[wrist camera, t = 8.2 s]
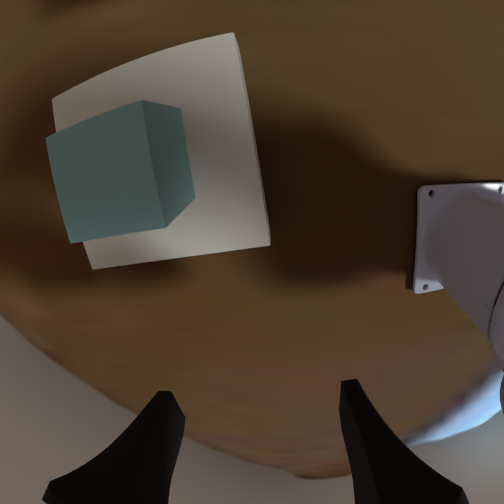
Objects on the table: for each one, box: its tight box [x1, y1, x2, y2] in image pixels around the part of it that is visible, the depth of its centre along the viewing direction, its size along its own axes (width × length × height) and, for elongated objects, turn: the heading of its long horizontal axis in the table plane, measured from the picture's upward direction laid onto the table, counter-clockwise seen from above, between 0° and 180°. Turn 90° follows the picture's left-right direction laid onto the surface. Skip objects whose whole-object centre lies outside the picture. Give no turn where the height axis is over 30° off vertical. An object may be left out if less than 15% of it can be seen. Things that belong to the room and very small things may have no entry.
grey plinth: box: [52, 32, 270, 270], centre depth 16 cm, size 12×12×3 cm
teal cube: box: [46, 100, 196, 244], centre depth 12 cm, size 5×5×5 cm
